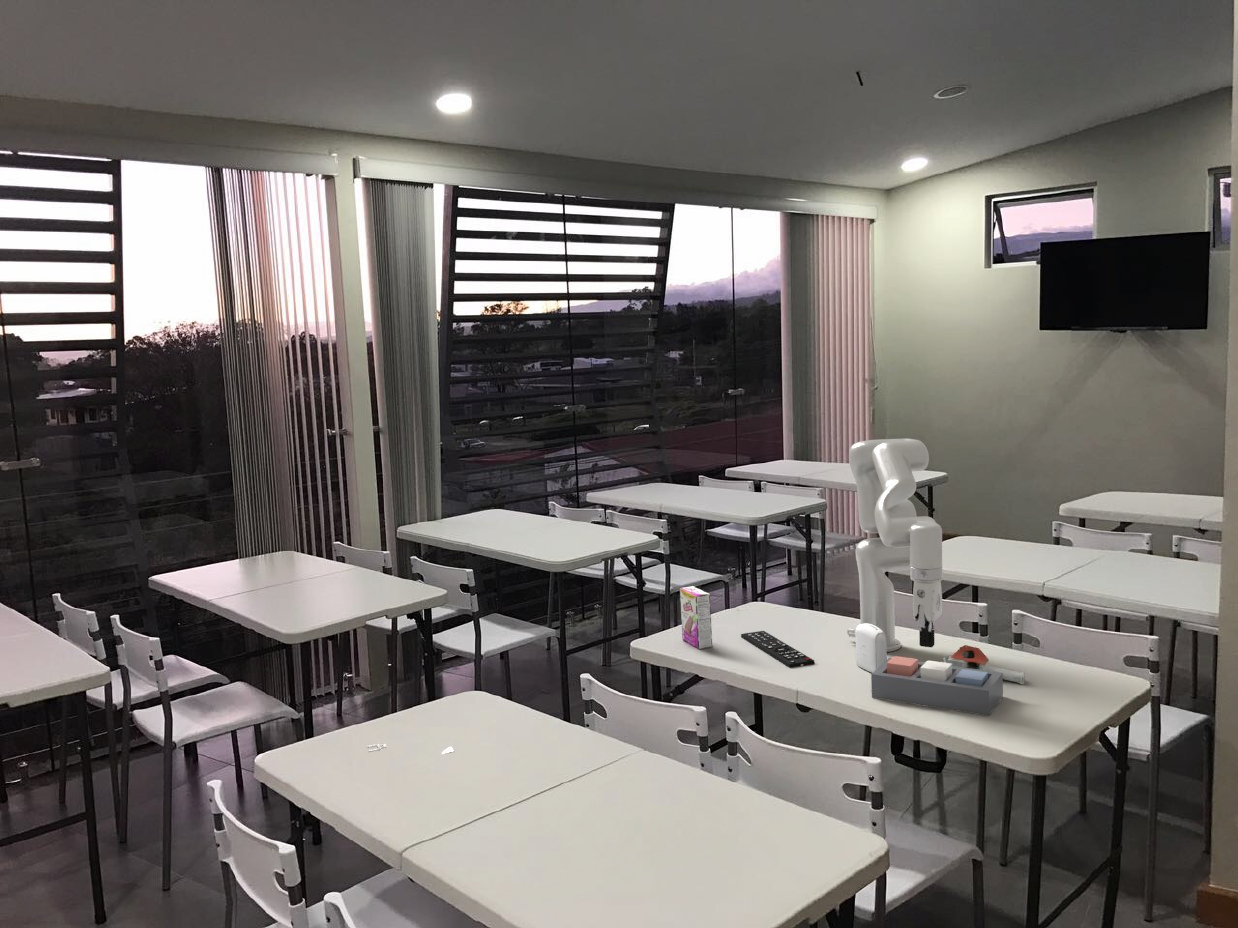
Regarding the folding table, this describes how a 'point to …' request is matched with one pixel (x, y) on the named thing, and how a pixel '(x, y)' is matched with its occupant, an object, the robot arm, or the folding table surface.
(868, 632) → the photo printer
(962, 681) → the blue key
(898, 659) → the red key
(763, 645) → the remote control
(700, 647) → the candy bar box
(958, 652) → the tape dispenser
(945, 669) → the white key
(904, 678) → the key panel
